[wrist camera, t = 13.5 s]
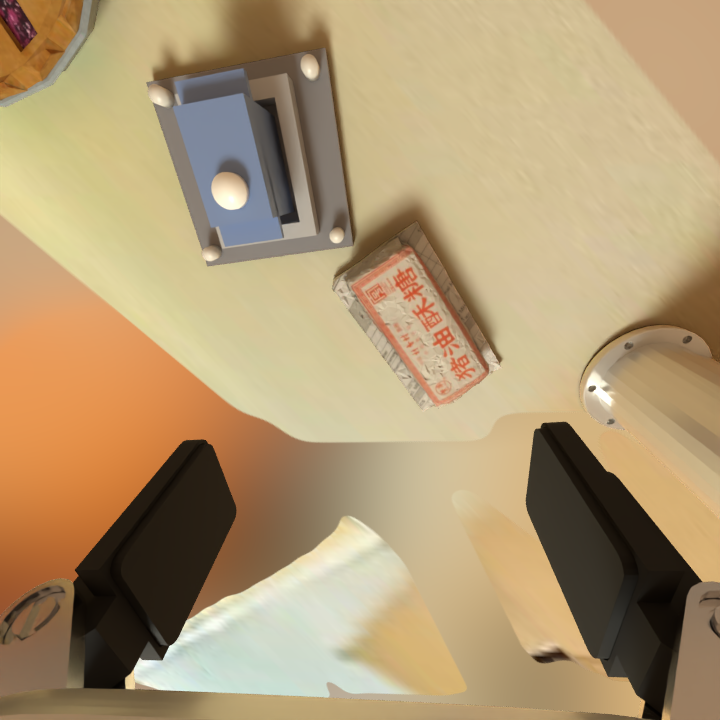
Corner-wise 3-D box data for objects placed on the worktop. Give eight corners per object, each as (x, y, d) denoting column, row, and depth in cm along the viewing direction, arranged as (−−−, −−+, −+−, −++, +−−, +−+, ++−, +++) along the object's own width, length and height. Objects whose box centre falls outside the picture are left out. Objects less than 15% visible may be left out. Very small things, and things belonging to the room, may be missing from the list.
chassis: (326, 52, 26) (321, 36, 23) (353, 244, 32) (351, 249, 29) (153, 86, 27) (129, 74, 24) (211, 264, 33) (197, 270, 30)
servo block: (269, 92, 26) (230, 56, 19) (298, 229, 31) (275, 242, 23) (213, 103, 26) (155, 71, 19) (250, 236, 31) (213, 251, 24)
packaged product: (323, 293, 30) (422, 223, 27) (329, 280, 34) (415, 219, 31) (427, 430, 36) (515, 385, 33) (420, 405, 40) (499, 363, 38)
